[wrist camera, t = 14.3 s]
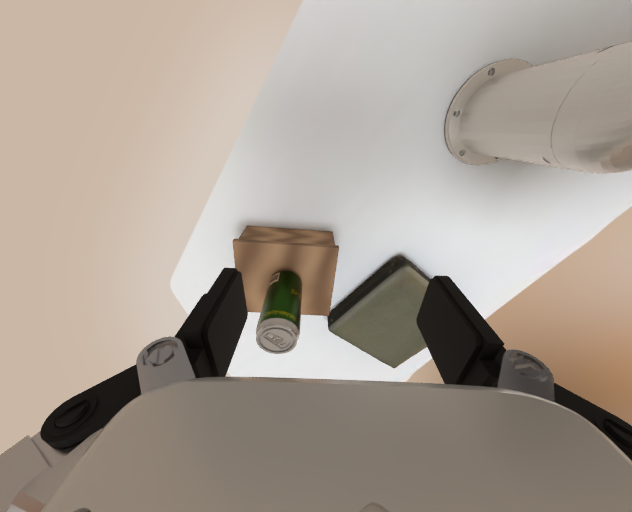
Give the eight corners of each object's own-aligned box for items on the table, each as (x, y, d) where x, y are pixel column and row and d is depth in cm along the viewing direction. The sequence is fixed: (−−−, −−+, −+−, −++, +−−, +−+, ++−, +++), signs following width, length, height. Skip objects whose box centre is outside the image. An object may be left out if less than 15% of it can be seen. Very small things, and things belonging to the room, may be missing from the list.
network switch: (319, 321, 53) (319, 338, 49) (386, 243, 43) (394, 256, 39) (395, 355, 59) (402, 373, 55) (468, 294, 50) (484, 310, 45)
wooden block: (334, 229, 41) (338, 248, 35) (326, 291, 48) (328, 315, 42) (244, 223, 41) (232, 241, 34) (249, 287, 47) (240, 311, 41)
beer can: (263, 283, 38) (245, 342, 28) (282, 262, 36) (270, 317, 26) (289, 299, 40) (281, 360, 30) (309, 279, 38) (308, 338, 28)
